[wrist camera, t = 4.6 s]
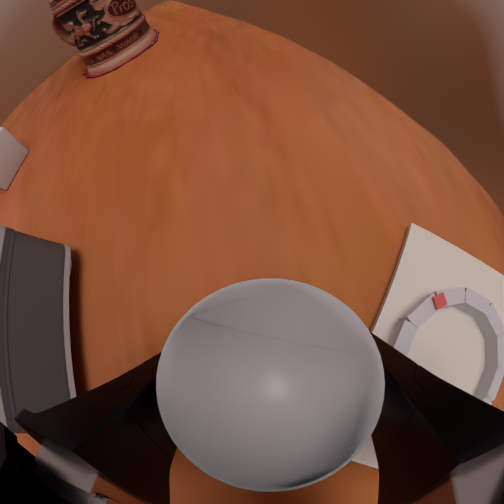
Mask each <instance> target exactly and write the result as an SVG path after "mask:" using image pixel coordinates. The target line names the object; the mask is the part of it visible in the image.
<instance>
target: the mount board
mask: <svg viewBox="0 0 504 504" xmlns="http://www.w3.org/2000/svg"><path fill="white" fill-rule="evenodd" d="M370 332H372V333H373V334H375V335H376V336H378V337H379V338H380V339H382V340H383V341H385V342H386V343H388V344H389V345H391V346H392V347H394V348H395V349H396V350H398V351H399V352H401V353H402V354H404V355H405V356H407V357H408V358H410V359H411V360H413V361H414V362H415V363H417V364H418V365H420V366H422V367H423V368H425V369H426V370H428V371H429V372H431V373H432V374H434V375H436V376H437V377H439V378H441V379H443V380H444V381H446V382H448V383H450V384H452V385H454V386H456V387H458V388H459V389H461V390H463V391H465V392H467V393H469V394H471V395H473V396H475V397H477V398H478V399H480V400H482V401H484V402H486V403H488V404H490V405H492V402H491V400H493V401H494V400H495V397H496V395H497V392H498V390H499V387H500V385H501V382H502V379H503V376H504V276H503V275H502V274H500V273H499V272H497V271H496V270H494V269H493V268H491V267H489V266H488V265H486V264H485V263H483V262H481V261H480V260H478V259H476V258H475V257H473V256H472V255H470V254H468V253H466V252H465V251H463V250H461V249H460V248H458V247H456V246H454V245H453V244H451V243H449V242H447V241H445V240H444V239H442V238H440V237H438V236H436V235H434V234H433V233H431V232H429V231H427V230H425V229H423V228H421V227H419V226H417V225H415V224H413V223H411V224H410V226H409V227H408V229H407V233H406V236H405V239H404V243H403V246H402V249H401V252H400V255H399V258H398V261H397V264H396V267H395V270H394V273H393V275H392V278H391V281H390V284H389V286H388V289H387V291H386V294H385V297H384V299H383V302H382V304H381V307H380V309H379V311H378V314H377V316H376V318H375V321H374V323H373V325H372V328H371V330H370ZM351 461H354V462H357V463H360V464H364V465H367V466H370V467H374V468H377V469H379V468H378V462H377V458H376V454H375V450H374V445H373V441H372V437H371V436H370V438H369V440H368V441H367V442H366V444H365V445H364V447H363V448H362V449H361V451H360V452H359V453H358V454H357V455H356V456H355V457H354V458H353V459H352V460H351Z"/></svg>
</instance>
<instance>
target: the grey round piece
mask: <svg viewBox="0 0 504 504" xmlns="http://www.w3.org/2000/svg"><path fill="white" fill-rule="evenodd" d="M384 390H385V379H384V369H383V364H382V360H381V356H380V353H379V350H378V348H377V345H376V343H375V341H374V339H373V337H372V335H371V333H370V332H369V330H368V328H367V327H366V326H365V324H364V323H363V322H362V321H361V319H360V318H359V317H358V316H357V315H356V314H355V313H354V312H353V311H352V310H351V309H350V308H349V307H348V306H347V305H345V304H344V303H343V302H341V301H340V300H339V299H337V298H336V297H334V296H333V295H331V294H329V293H327V292H325V291H324V290H321V289H319V288H316V287H314V286H311V285H309V284H305V283H301V282H297V281H294V280H286V279H255V280H247V281H243V282H239V283H235V284H232V285H230V286H227V287H224V288H222V289H219V290H217V291H216V292H214V293H212V294H210V295H208V296H206V297H205V298H204V299H202V300H201V301H199V302H198V303H197V304H195V305H194V306H193V307H192V308H191V309H190V310H189V311H188V312H187V313H186V314H184V316H183V317H182V318H181V319H180V320H179V322H178V323H177V324H176V325H175V327H174V328H173V330H172V332H171V333H170V335H169V337H168V338H167V341H166V343H165V345H164V347H163V349H162V353H161V356H160V359H159V363H158V369H157V375H156V393H157V402H158V406H159V410H160V414H161V417H162V420H163V423H164V425H165V428H166V430H167V431H168V433H169V435H170V437H171V439H172V440H173V442H174V443H175V444H176V446H177V447H178V449H179V450H180V451H181V452H182V453H183V454H184V455H185V456H186V458H187V459H188V460H189V461H190V462H192V463H193V464H194V465H195V466H197V467H198V468H199V469H200V470H202V471H203V472H205V473H206V474H208V475H210V476H211V477H213V478H215V479H217V480H219V481H221V482H223V483H226V484H229V485H232V486H235V487H238V488H242V489H247V490H252V491H262V492H279V491H288V490H294V489H299V488H302V487H306V486H309V485H312V484H314V483H317V482H319V481H321V480H323V479H326V478H327V477H329V476H331V475H332V474H334V473H336V472H337V471H339V470H340V469H341V468H343V467H344V466H345V465H346V464H348V463H349V462H350V461H351V460H352V459H353V458H354V457H355V456H356V455H357V454H358V453H359V452H360V451H361V449H362V448H363V447H364V445H365V444H366V442H367V441H368V440H369V438H370V436H371V434H372V433H373V431H374V429H375V427H376V424H377V422H378V419H379V416H380V414H381V410H382V405H383V400H384Z"/></svg>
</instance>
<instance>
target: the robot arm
mask: <svg viewBox="0 0 504 504" xmlns="http://www.w3.org/2000/svg"><path fill="white" fill-rule="evenodd" d="M369 332H370V331H369ZM370 333H371V335H372V337H373V339H374V341H375V343H376V345H377V348H378V350H379V353H380V356H381V360H382V364H383V369H384V379H385V390H384V400H383V405H382V410H381V414H380V416H379V419H378V422H377V424H376V427H375V429H374V431H373V433H372V434H371V437H372V441H373V445H374V450H375V454H376V458H377V462H378V468H379V494H378V504H504V411H502V410H500V409H498V408H496V407H494V406H492V405H490V404H488V403H486V402H484V401H482V400H480V399H478V398H477V397H475V396H473V395H471V394H469V393H467V392H465V391H463V390H461V389H459V388H458V387H456V386H454V385H452V384H450V383H448V382H446V381H444V380H443V379H441V378H439V377H437V376H436V375H434V374H432V373H431V372H429V371H428V370H426V369H425V368H423V367H422V366H420V365H418V364H417V363H415V362H414V361H413V360H411V359H410V358H408V357H407V356H405V355H404V354H402V353H401V352H399V351H398V350H396V349H395V348H394V347H392V346H391V345H389V344H388V343H386V342H385V341H383V340H382V339H380V338H379V337H378V336H376V335H375V334H373V333H372V332H370ZM161 353H162V352H160V353H159V354H157V355H155V356H154V357H152V358H150V359H149V360H147V361H145V362H144V363H142V364H140V365H139V366H137V367H135V368H134V369H133V370H130V371H128V372H126V373H125V374H123V375H121V376H119V377H117V378H115V379H113V380H111V381H109V382H107V383H105V384H103V385H101V386H99V387H97V388H94V389H92V390H90V391H88V392H86V393H83V394H81V395H79V396H77V397H74V398H72V399H70V400H68V401H65V402H63V403H61V404H58V405H56V406H53V407H51V408H49V409H46V410H44V411H41V412H38V413H32V412H30V411H28V410H26V409H24V408H23V409H21V410H20V411H19V412H18V413H17V414H16V415H15V416H14V420H15V421H16V422H17V423H18V424H19V425H20V426H21V427H22V428H23V429H24V430H25V431H26V432H27V433H28V434H29V435H30V436H31V437H33V438H34V439H35V440H36V441H37V442H38V443H39V444H41V446H40V448H39V450H38V452H37V454H36V456H34V455H32V454H31V453H30V452H29V451H27V450H26V449H25V448H24V447H22V446H21V445H20V444H19V443H18V442H17V436H16V435H15V434H14V433H12V432H11V431H10V430H9V429H8V428H7V427H6V426H5V425H4V424H3V423H1V422H0V504H170V484H169V475H170V467H171V463H172V460H173V457H174V455H175V452H176V449H177V446H176V444H175V443H174V442H173V440H172V439H171V437H170V435H169V433H168V431H167V430H166V428H165V425H164V423H163V420H162V417H161V414H160V410H159V406H158V402H157V393H156V375H157V369H158V363H159V359H160V356H161Z"/></svg>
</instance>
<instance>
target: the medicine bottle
mask: <svg viewBox="0 0 504 504" xmlns="http://www.w3.org/2000/svg"><path fill="white" fill-rule="evenodd" d="M28 153H29V150H28V149H27V148H26V147H25V146H23V145H22V144H21V143H20V142H19V141H18V140H17V139H16V138H15V137H13V136H12V135H11V134H10V133H9V132H8V131H7V130H6V129H5V128H4V127H0V188H2V189H4V190H8V188H9V186H10V184H11V182H12V180H13V179H14V177H15V175H16V173H17V171H18V170H19V168H20V166H21V164H22V163H23V161H24V159H25V158H26V156H27V154H28Z"/></svg>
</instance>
